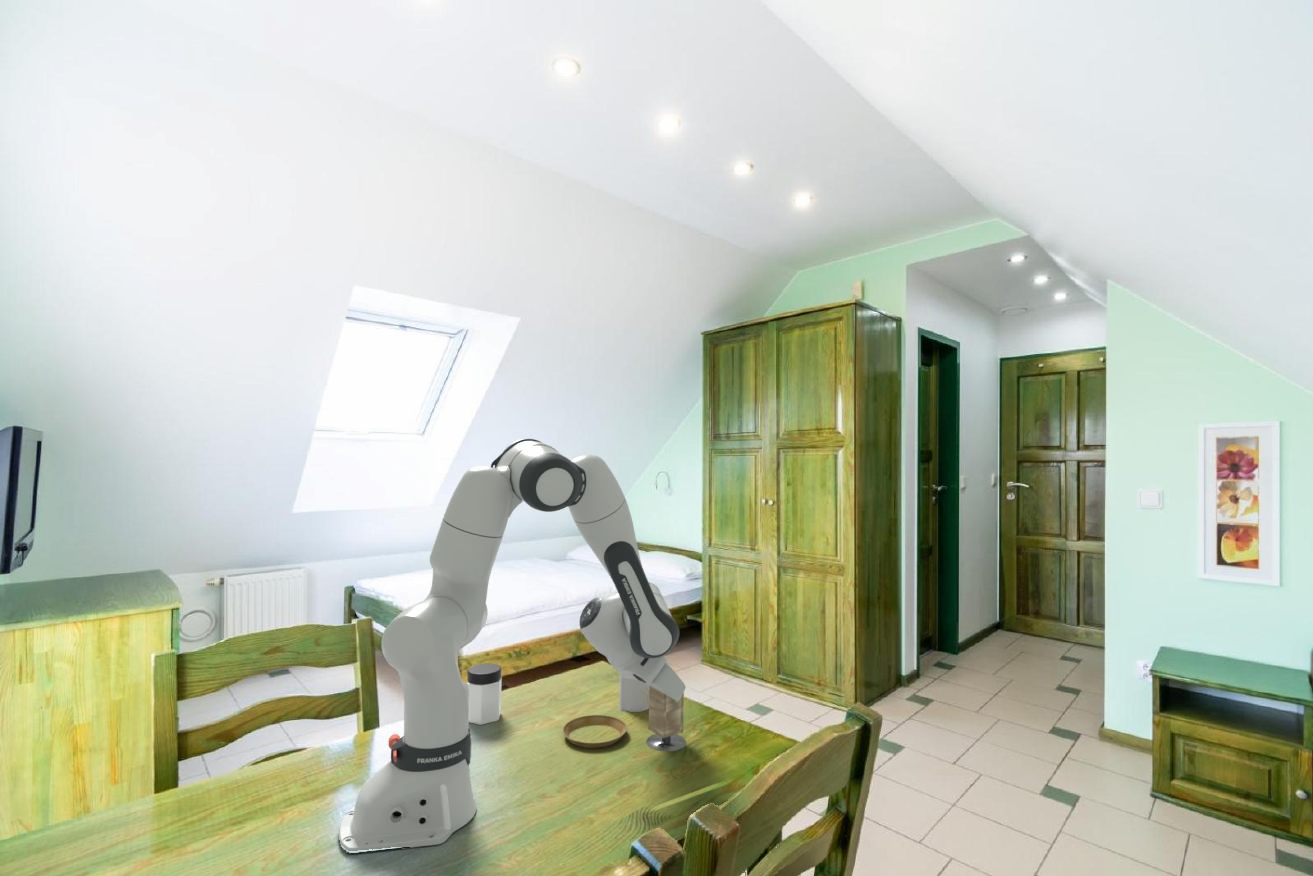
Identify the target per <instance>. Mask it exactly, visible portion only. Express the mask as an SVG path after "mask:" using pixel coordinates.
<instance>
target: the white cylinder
mask: <svg viewBox="0 0 1313 876" xmlns="http://www.w3.org/2000/svg"><path fill="white" fill-rule="evenodd" d="M618 689H619V691H618V692H619V693H618V695H619V699H618V700H619V702H618V703H619V706H618V709H619V711H621V710H622V711H621V712H625V711H626V712H631V713H637V712H639V713H640V712H645V711H646V710H649V685H647V684H646V683H644V682H642V681H639V680H634V679H627V678H624V677H623V676H622V675H621V674H620V673H619V687H618Z"/></svg>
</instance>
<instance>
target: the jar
mask: <svg viewBox="0 0 1313 876" xmlns="http://www.w3.org/2000/svg"><path fill="white" fill-rule="evenodd" d="M466 677H467V681H466V684H467V686H468V688H469V723H470V724H476V725H481V726H483V725H486V724H489V723H494V722H497V721H500V717H501V713H502V681H503V679H502V678H503V677H502V666H501V665H500V664H496V663H490V662H489V663H479V664H475V665H472V666H470V667H469V668H468V669H467V675H466Z"/></svg>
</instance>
